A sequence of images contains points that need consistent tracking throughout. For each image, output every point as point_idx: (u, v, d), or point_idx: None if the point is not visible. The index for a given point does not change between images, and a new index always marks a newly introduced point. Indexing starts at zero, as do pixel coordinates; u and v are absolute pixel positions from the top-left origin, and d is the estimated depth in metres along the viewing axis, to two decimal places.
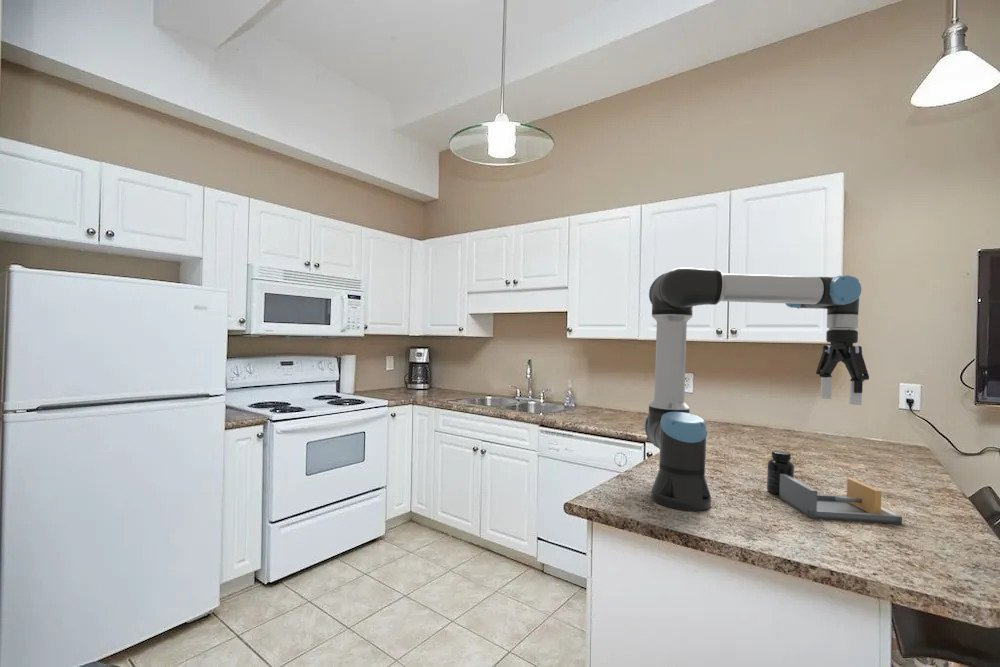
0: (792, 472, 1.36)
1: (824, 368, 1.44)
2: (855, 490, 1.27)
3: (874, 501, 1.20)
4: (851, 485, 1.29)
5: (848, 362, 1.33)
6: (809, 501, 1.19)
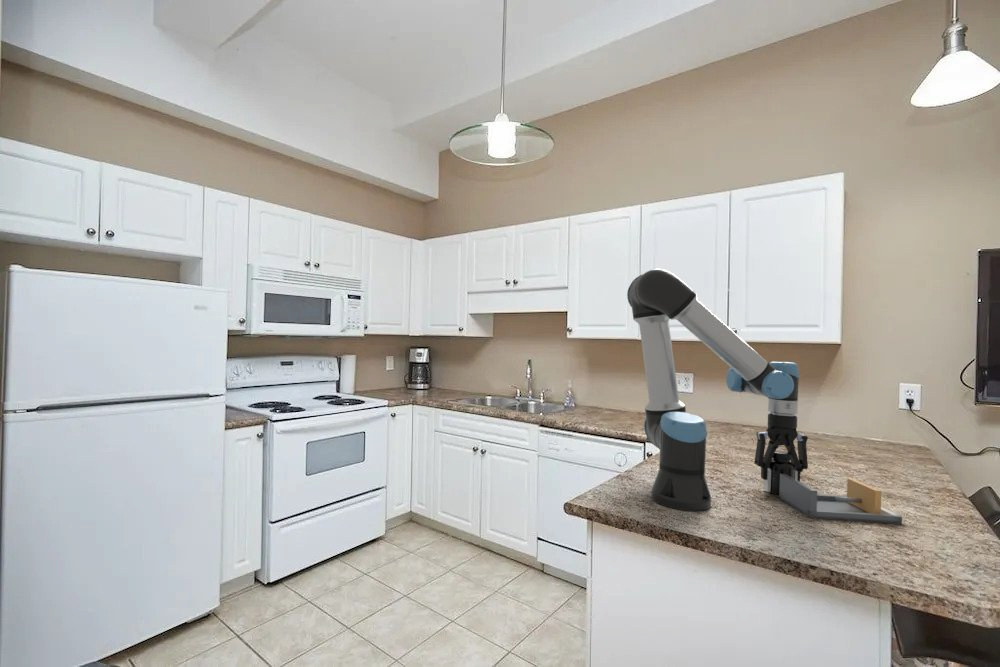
0: (792, 472, 1.36)
1: None
2: (855, 490, 1.27)
3: (874, 501, 1.20)
4: (851, 485, 1.29)
5: (767, 448, 1.40)
6: (809, 501, 1.19)
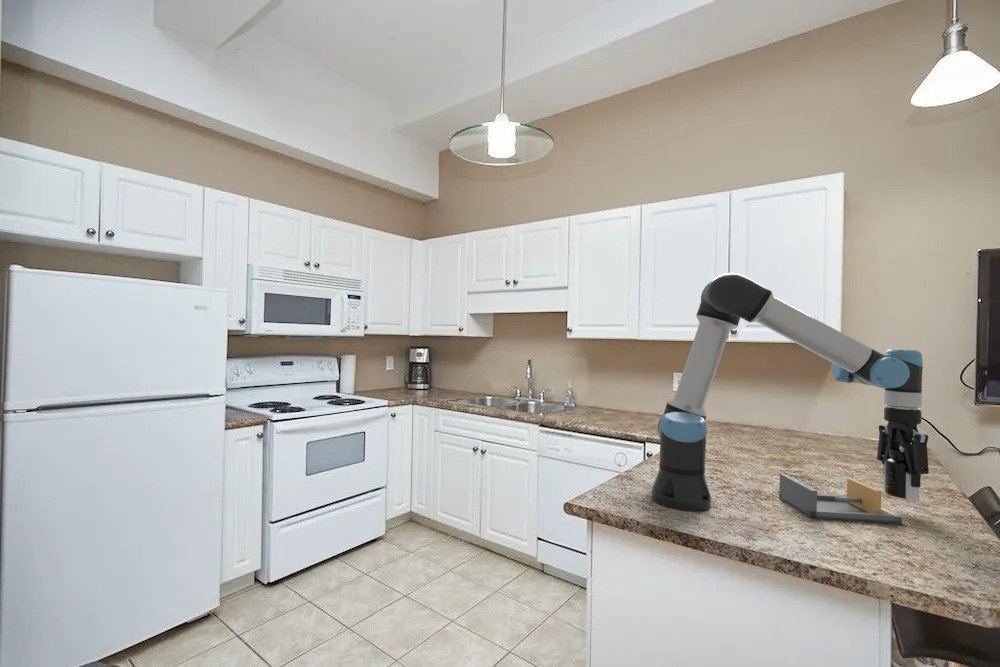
0: None
1: (886, 453, 1.28)
2: (855, 490, 1.27)
3: (874, 501, 1.20)
4: (851, 485, 1.29)
5: (908, 450, 1.21)
6: (809, 501, 1.19)
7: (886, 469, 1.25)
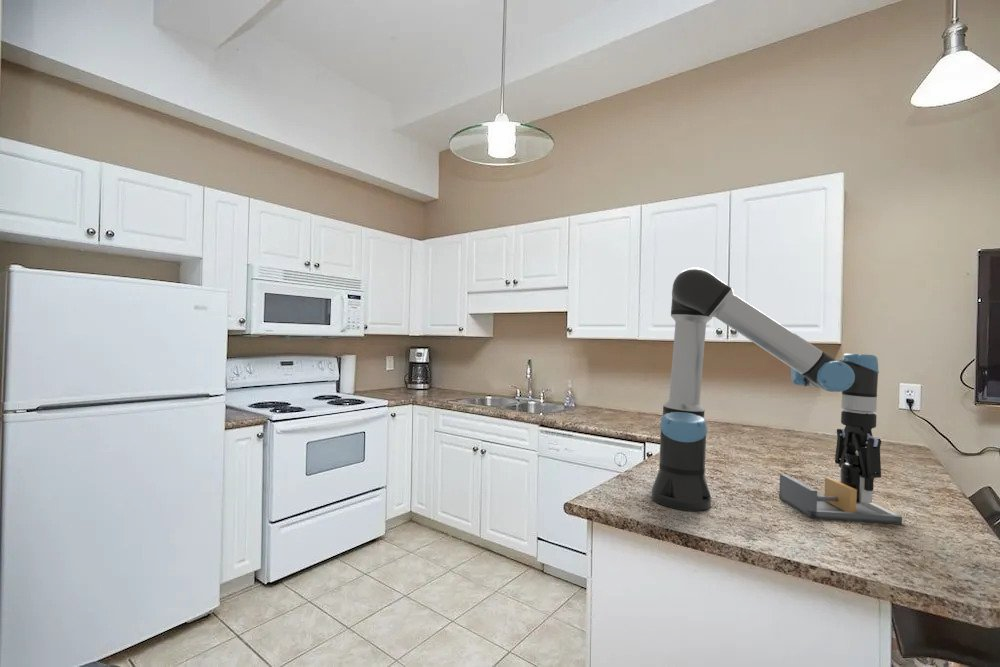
0: None
1: (843, 456, 1.29)
2: (832, 489, 1.27)
3: (849, 500, 1.20)
4: (828, 484, 1.29)
5: (862, 453, 1.22)
6: (809, 501, 1.19)
7: (842, 472, 1.26)
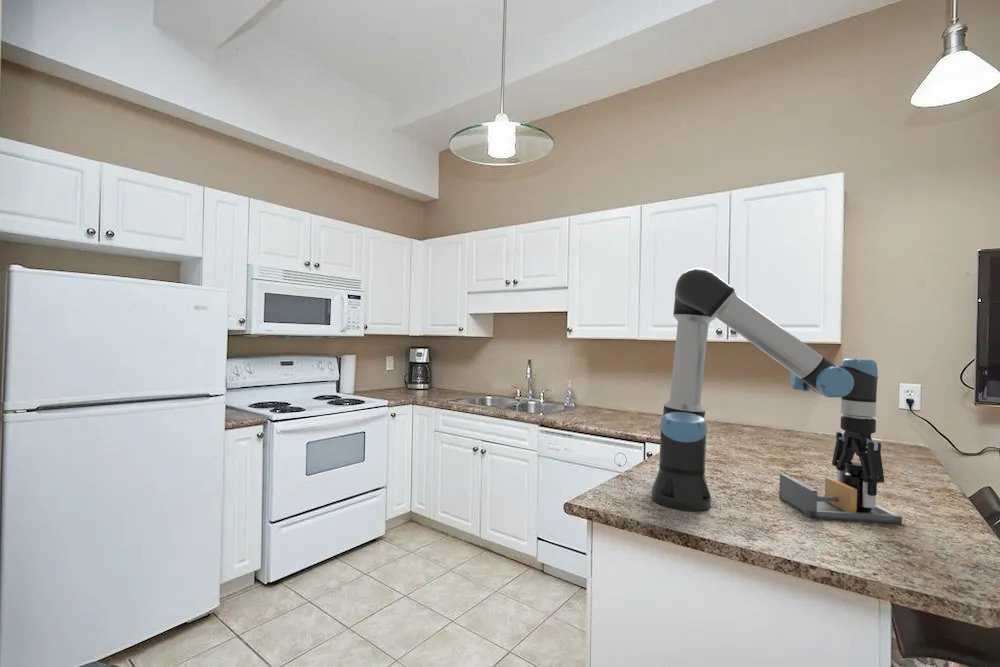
0: None
1: (840, 459, 1.30)
2: (832, 489, 1.27)
3: (850, 500, 1.20)
4: (828, 484, 1.29)
5: (863, 458, 1.21)
6: (809, 501, 1.19)
7: (842, 482, 1.26)
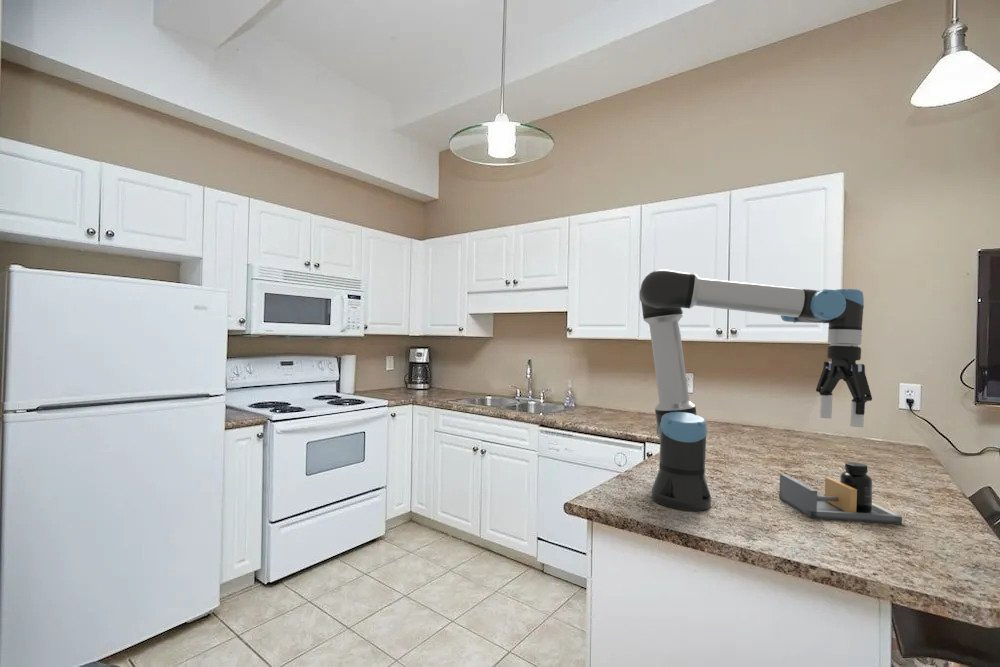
0: None
1: (824, 386, 1.35)
2: (832, 489, 1.27)
3: (850, 500, 1.20)
4: (828, 484, 1.29)
5: (849, 381, 1.25)
6: (809, 501, 1.19)
7: None
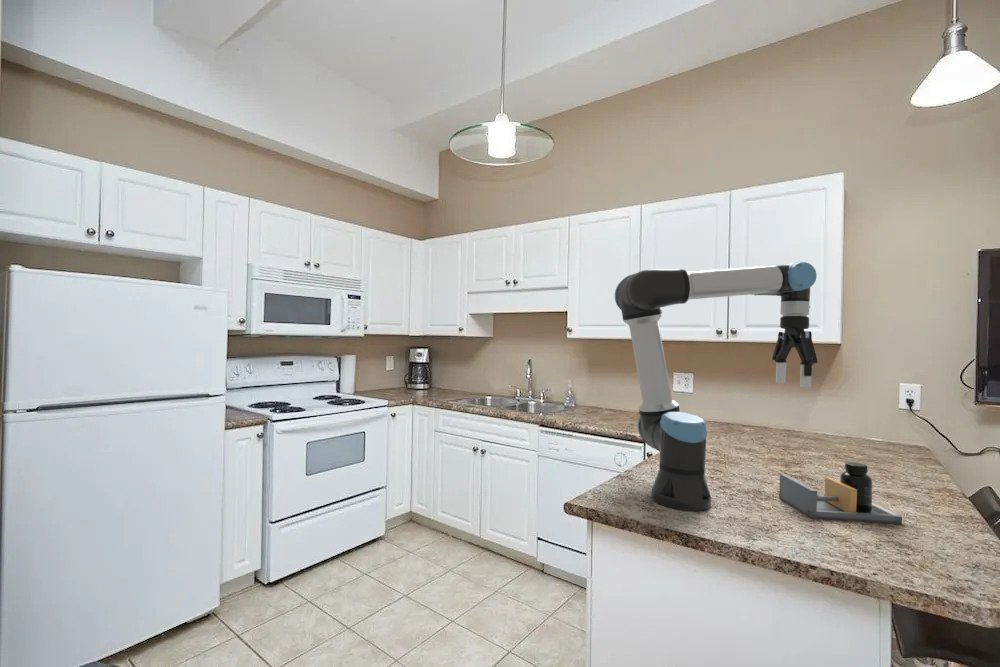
0: None
1: (779, 354, 1.49)
2: (832, 489, 1.27)
3: (850, 500, 1.20)
4: (828, 484, 1.29)
5: (799, 347, 1.39)
6: (809, 501, 1.19)
7: None
